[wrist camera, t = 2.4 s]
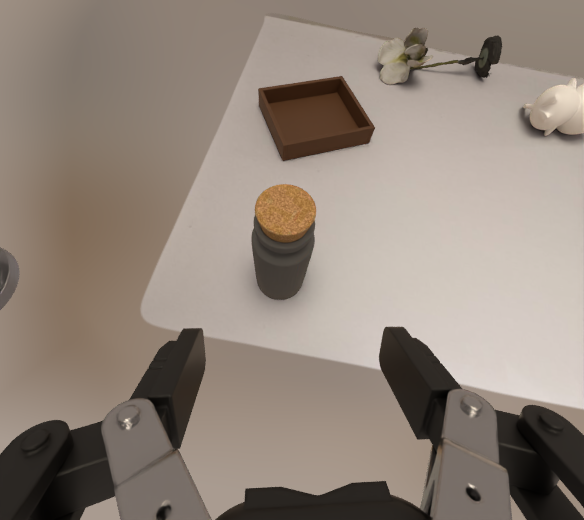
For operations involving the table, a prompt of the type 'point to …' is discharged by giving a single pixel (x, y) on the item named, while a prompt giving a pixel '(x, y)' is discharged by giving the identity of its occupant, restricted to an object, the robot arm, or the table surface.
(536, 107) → the cat figurine
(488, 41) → the artificial flower
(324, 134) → the tray
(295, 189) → the bottle
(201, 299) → the table surface
